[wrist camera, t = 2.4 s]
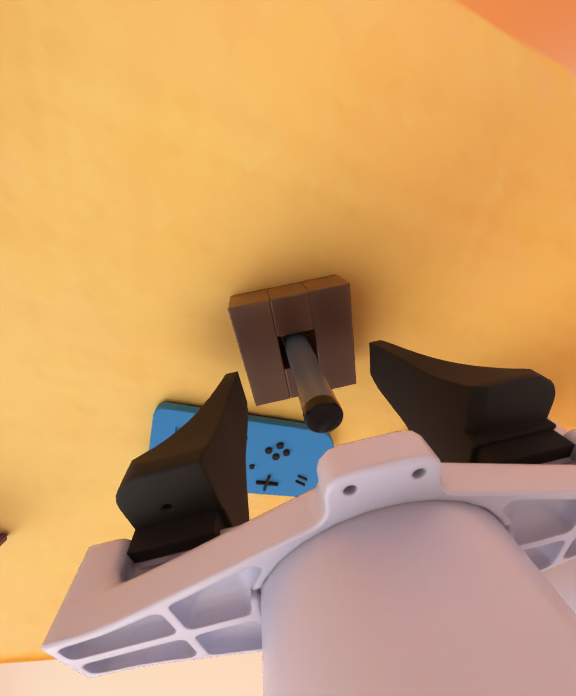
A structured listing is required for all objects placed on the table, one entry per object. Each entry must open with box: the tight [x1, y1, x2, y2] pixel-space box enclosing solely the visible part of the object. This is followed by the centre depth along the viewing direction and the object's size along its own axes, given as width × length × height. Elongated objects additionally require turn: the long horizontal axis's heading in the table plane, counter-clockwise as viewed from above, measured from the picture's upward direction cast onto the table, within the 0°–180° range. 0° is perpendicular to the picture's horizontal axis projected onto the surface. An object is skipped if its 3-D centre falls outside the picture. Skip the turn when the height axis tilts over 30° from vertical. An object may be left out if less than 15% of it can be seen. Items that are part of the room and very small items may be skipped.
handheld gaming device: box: [149, 402, 334, 497], centre depth 23 cm, size 8×1×15 cm
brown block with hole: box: [228, 275, 356, 406], centre depth 18 cm, size 7×7×3 cm
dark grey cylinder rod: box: [282, 332, 343, 433], centre depth 15 cm, size 2×2×9 cm
